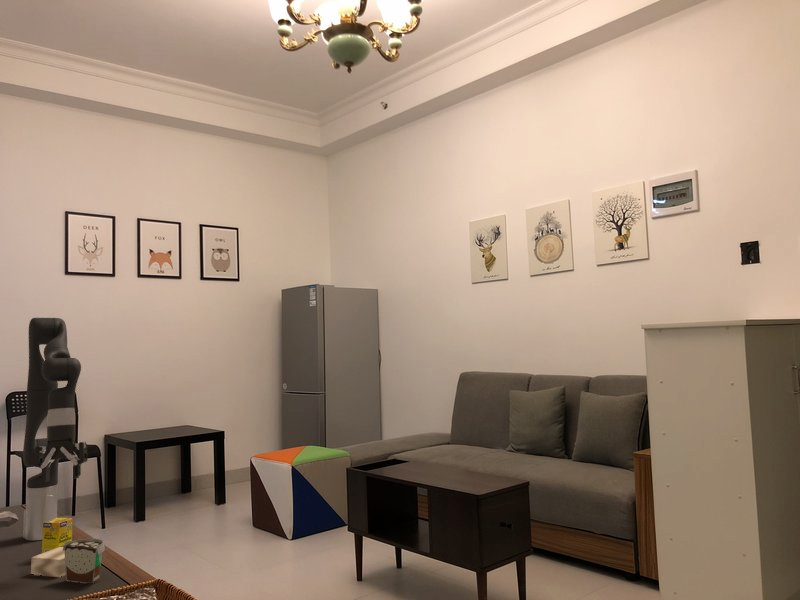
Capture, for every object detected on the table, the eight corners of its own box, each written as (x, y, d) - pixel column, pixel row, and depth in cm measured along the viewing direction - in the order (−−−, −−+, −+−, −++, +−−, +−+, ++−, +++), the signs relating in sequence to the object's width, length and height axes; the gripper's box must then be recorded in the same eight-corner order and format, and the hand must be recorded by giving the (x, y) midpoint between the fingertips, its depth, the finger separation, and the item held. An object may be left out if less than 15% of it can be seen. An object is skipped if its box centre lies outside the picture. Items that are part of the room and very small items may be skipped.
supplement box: (58, 560, 190) (59, 522, 191) (41, 559, 192) (42, 522, 193) (72, 553, 196) (73, 517, 197) (55, 553, 197) (56, 517, 198)
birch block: (30, 575, 178) (31, 557, 178) (58, 564, 187) (59, 546, 188) (59, 578, 175) (60, 559, 176) (86, 566, 185) (87, 548, 185)
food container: (114, 577, 174) (115, 539, 175) (97, 584, 168) (98, 546, 169) (80, 573, 178) (80, 536, 179) (61, 580, 172) (62, 542, 173)
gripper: (91, 422, 193) (91, 476, 190) (43, 426, 192) (43, 481, 189) (79, 422, 186) (79, 478, 183) (30, 426, 185) (29, 483, 182)
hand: (61, 480), depth 186 cm, fingers open, 8 cm apart
